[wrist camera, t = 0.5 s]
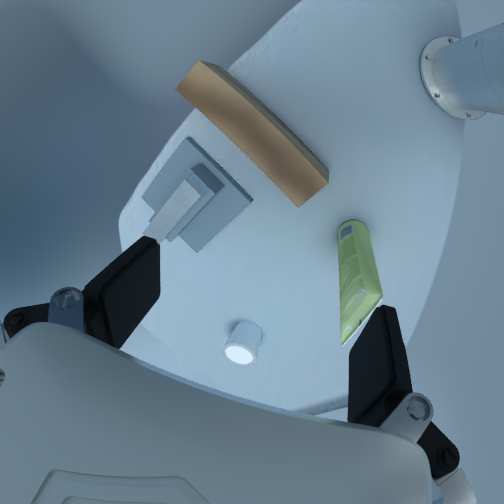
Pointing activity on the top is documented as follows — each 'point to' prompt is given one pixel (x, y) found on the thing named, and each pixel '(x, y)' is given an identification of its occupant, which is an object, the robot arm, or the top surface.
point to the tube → (356, 278)
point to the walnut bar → (255, 131)
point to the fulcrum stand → (192, 198)
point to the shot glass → (243, 344)
